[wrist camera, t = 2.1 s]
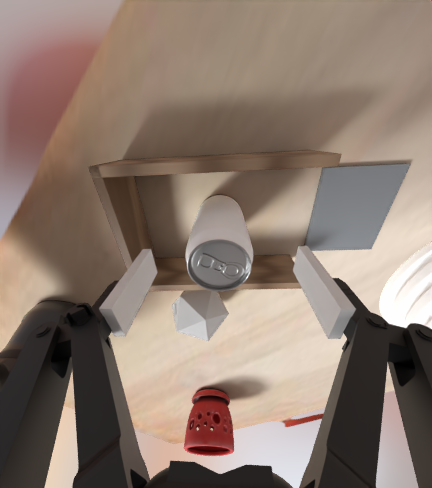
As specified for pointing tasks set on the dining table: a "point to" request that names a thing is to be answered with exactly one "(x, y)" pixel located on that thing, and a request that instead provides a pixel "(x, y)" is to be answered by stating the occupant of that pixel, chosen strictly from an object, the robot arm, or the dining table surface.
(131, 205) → the walnut u-shaped enclosure
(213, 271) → the can
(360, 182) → the slate mat
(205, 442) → the plant pot
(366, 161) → the dining table surface
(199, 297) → the die
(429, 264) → the plate stack
